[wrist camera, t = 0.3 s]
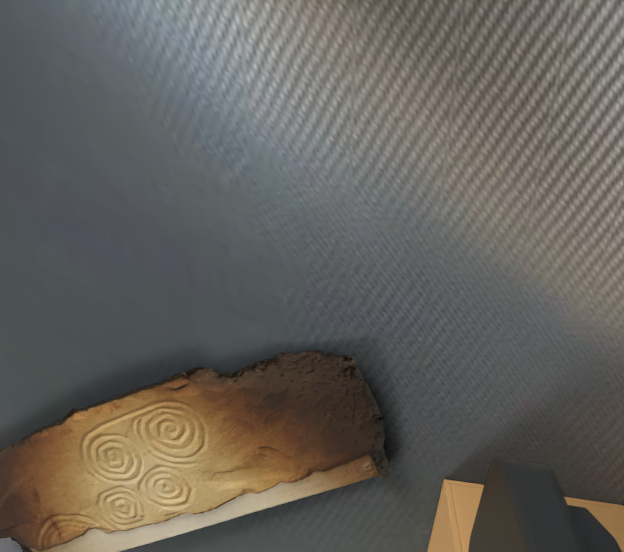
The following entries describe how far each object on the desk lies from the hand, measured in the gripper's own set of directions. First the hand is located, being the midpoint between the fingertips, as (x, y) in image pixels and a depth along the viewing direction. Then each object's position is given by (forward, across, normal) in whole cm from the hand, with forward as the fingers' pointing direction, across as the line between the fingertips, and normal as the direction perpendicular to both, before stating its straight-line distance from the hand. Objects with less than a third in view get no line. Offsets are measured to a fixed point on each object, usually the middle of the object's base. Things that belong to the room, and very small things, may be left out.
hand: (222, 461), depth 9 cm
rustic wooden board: (+18, +7, +16) cm, 25 cm away
